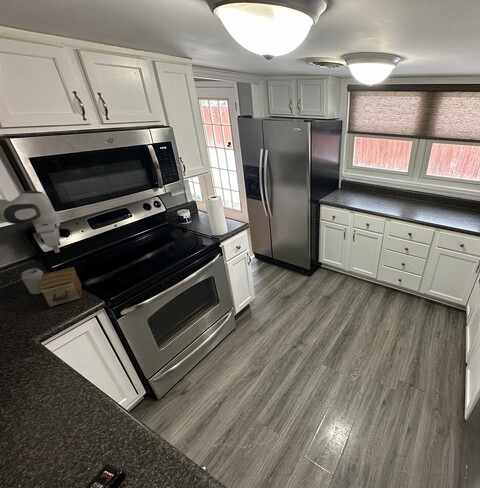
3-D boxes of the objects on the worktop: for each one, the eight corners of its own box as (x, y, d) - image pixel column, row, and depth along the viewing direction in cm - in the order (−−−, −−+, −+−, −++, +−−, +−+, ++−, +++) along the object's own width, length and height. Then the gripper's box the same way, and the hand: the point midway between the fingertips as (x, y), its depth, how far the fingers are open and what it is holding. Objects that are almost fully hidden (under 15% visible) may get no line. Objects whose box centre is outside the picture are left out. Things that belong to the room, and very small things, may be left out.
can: (49, 292, 135) (39, 272, 130) (28, 296, 132) (17, 276, 126) (52, 285, 141) (42, 265, 136) (32, 289, 137) (21, 269, 132)
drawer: (79, 304, 126) (72, 288, 123) (49, 313, 120) (40, 297, 116) (79, 285, 140) (72, 271, 136) (51, 293, 133) (44, 278, 129)
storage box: (81, 297, 133) (73, 279, 128) (49, 306, 126) (39, 287, 121) (81, 284, 143) (73, 267, 138) (51, 292, 136) (42, 274, 131)
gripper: (39, 218, 134) (50, 243, 140) (35, 231, 120) (48, 257, 126) (56, 216, 138) (66, 240, 144) (54, 228, 124) (66, 254, 130)
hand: (58, 248), depth 135 cm, fingers open, 8 cm apart
